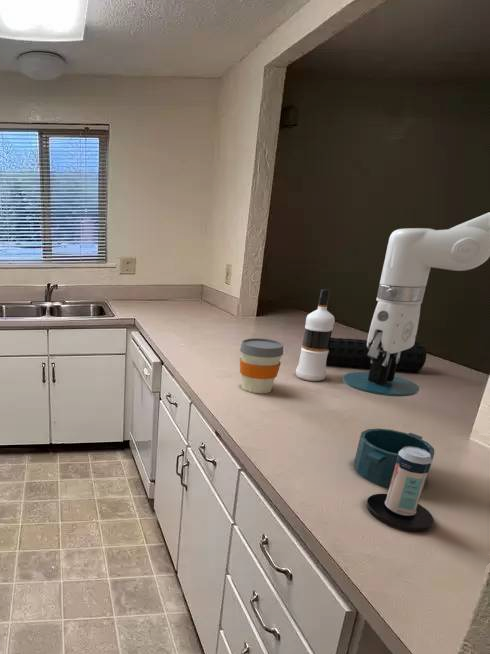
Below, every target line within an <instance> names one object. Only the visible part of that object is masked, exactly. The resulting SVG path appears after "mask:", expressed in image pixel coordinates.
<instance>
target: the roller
mask: <svg viewBox="0 0 490 654" xmlns="http://www.w3.org/2000/svg"><path fill="white" fill-rule="evenodd" d="M367 340H368V339H357V338H342V337H331V339H330V344H329V352H328V355H327V360H326V365H329V366H342V367H354V368H366V369H370V367H371V357H369V356H368V352H369V350H370V349H369V348H368V347H367ZM380 349H381V350H383V348H382V347H380ZM379 354H381V353H379ZM381 355H383V354H381ZM426 361H427V349H426V346H425V345H424V344H423V343H419V342H415V343H414V345H413V347H411V348H409V349H407V350H403V351H402V353H401V354H400V358H399V362H398V363H396V364H397V367H396V371H403V372H415V373H417V372H420V371H421V370H422V368H424V365H425V364H426Z"/></svg>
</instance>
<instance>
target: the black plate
mask: <svg viewBox="0 0 490 654" xmlns="http://www.w3.org/2000/svg"><path fill="white" fill-rule="evenodd" d="M387 494H388V493H375V494H372V495H370V496H369V497H368V498H367V500H366V509H367V511H368V513H369V514H370V515H371V516H372V517H373V518H375V519H376V520H378V521H379V522H381V523H382V524H384V525H387V526H389V527H391V528H394V529H396V530H399V531H404V532H408V533H424V532H428V531H429V530H431V529H432V527H433V524H434V521H435V520H434V517H433V515H432V513H431V512H430V511H429V510H428V509H427V508H426V507H424V506H423V505H422V504H419V503H418V506H417V510H416V514H414V515H411V516H404V515H399V514H397V513H394V512H393V511H391V510H390V509H389V508H387V506H386V505H385V501H386V498H387Z"/></svg>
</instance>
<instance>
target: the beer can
mask: <svg viewBox="0 0 490 654" xmlns="http://www.w3.org/2000/svg"><path fill="white" fill-rule="evenodd" d="M398 454H399V455H398V458H397V462H396V465H395V469H394V473H393V476H392V480H391V484H390V487H389V488H388V491H387V493H386V494H387V498H386V501H385V505H386V506H387V508H389V509H390V510H391V511H393V512H394V513H397V514H399V515H404V516H411V515H414V514H416V510H417V506H418V504H419V503H420V500H421V497H422V493H423V490H424V486H425V484H426V483H425V481H426V482H427V479H426V477H427V478H428V476H427V474H428V475H429V473H428V471H429V472H430V470H429V468H431V467H430V464H431V465H432V464H433V460H432V458H431V456H430V453H428V452H427V451H426V450H423V449H420V448H418V447H411V446H408V447H404V448H403V449H401V450H400V451H399V453H398Z"/></svg>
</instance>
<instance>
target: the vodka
mask: <svg viewBox="0 0 490 654" xmlns="http://www.w3.org/2000/svg"><path fill="white" fill-rule="evenodd" d="M330 292H331V290H330V289H327V288H323V289H320V294H319V299H318V305H317V308H316V309H315V310H313V311H311V312H309V313H308V314H307V316H306V318H305V325H304V331H303V332H304V333H303V338H302V343H301V344H302V345H301V347H300V354H299V355H300V356H299V360H298V362H297V363H298V364H297V367H296V370H295V376H296V377H297V378H298V379H301V380H302V381H307V382H321V381H323V380H325V378H326V375H327V364H326V360H327V355H328V352H329V344H330V339H331V338H332V334H333V330H334V325H335V321H336V319H335V316H334V315H333V314H332V313H331V312H330V311H329V310H327V309H328V302H329V298H330Z"/></svg>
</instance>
